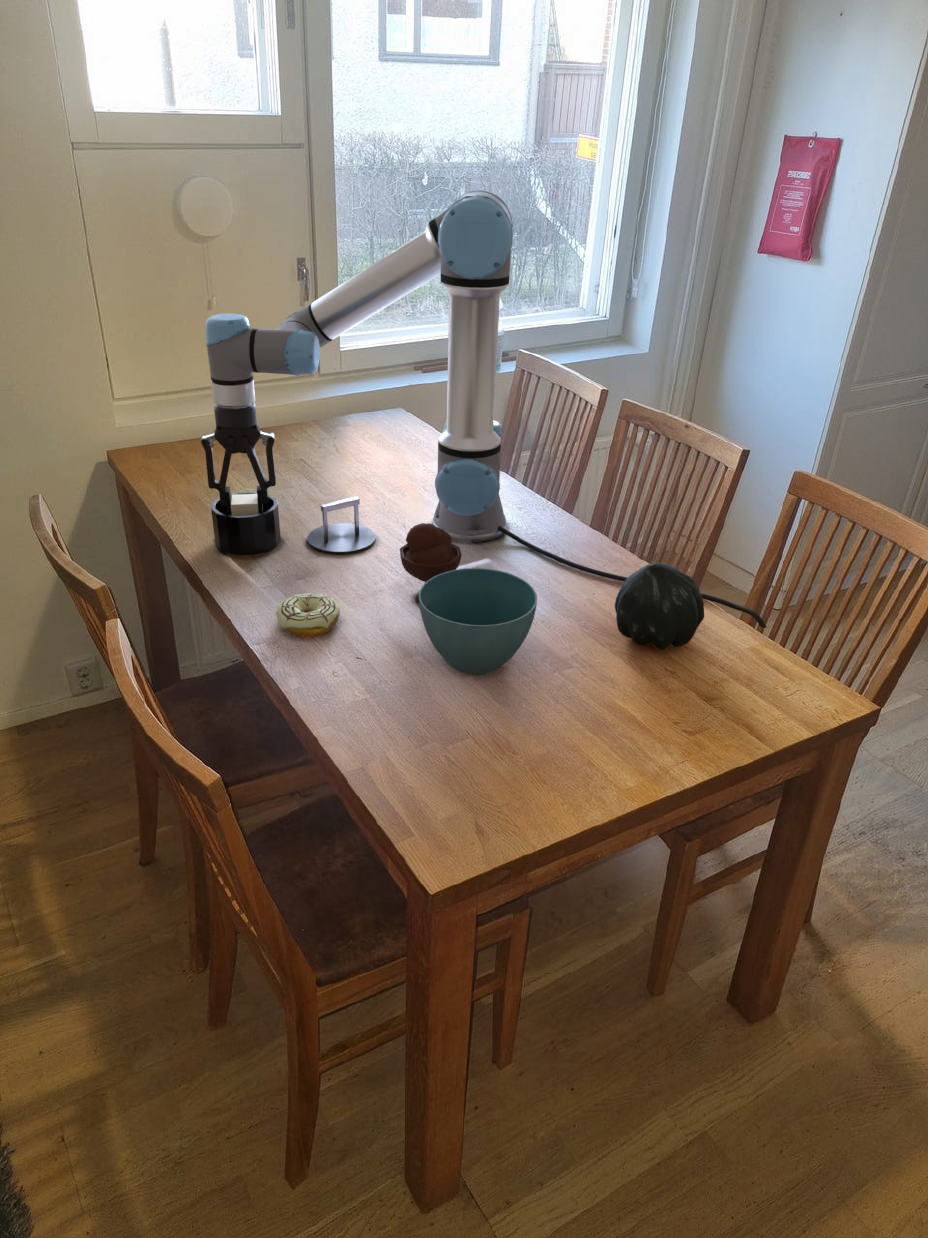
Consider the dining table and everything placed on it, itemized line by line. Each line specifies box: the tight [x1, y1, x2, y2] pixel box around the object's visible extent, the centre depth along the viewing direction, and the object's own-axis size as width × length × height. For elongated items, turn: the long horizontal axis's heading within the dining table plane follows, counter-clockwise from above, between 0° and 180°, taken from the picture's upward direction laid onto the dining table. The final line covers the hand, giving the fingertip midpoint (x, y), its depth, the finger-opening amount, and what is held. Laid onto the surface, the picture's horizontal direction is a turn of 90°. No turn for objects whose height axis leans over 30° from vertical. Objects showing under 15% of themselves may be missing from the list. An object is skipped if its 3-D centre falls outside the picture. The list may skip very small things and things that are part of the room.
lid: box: [307, 496, 377, 556], centre depth 179 cm, size 14×14×9 cm
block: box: [231, 494, 259, 516], centre depth 176 cm, size 5×5×5 cm
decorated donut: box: [275, 592, 340, 639], centre depth 153 cm, size 10×11×4 cm
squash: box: [614, 562, 705, 651], centre depth 150 cm, size 14×15×15 cm
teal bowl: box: [418, 567, 538, 676], centre depth 142 cm, size 18×18×12 cm
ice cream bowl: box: [399, 522, 462, 605], centre depth 159 cm, size 11×11×15 cm
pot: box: [210, 491, 282, 557], centre depth 177 cm, size 13×13×8 cm
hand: (246, 519), depth 177 cm, fingers open, 5 cm apart
